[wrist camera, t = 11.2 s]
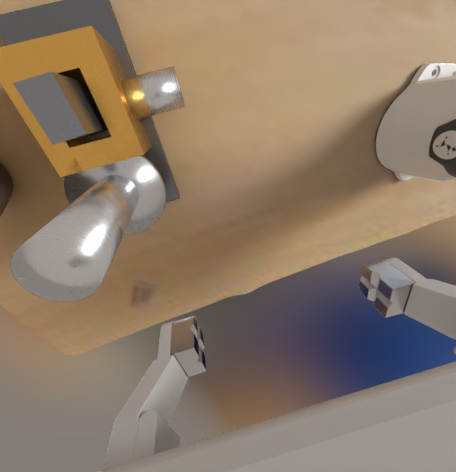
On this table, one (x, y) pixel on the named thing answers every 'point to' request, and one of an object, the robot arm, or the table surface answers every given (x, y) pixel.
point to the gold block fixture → (89, 143)
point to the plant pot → (4, 188)
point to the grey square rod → (61, 106)
